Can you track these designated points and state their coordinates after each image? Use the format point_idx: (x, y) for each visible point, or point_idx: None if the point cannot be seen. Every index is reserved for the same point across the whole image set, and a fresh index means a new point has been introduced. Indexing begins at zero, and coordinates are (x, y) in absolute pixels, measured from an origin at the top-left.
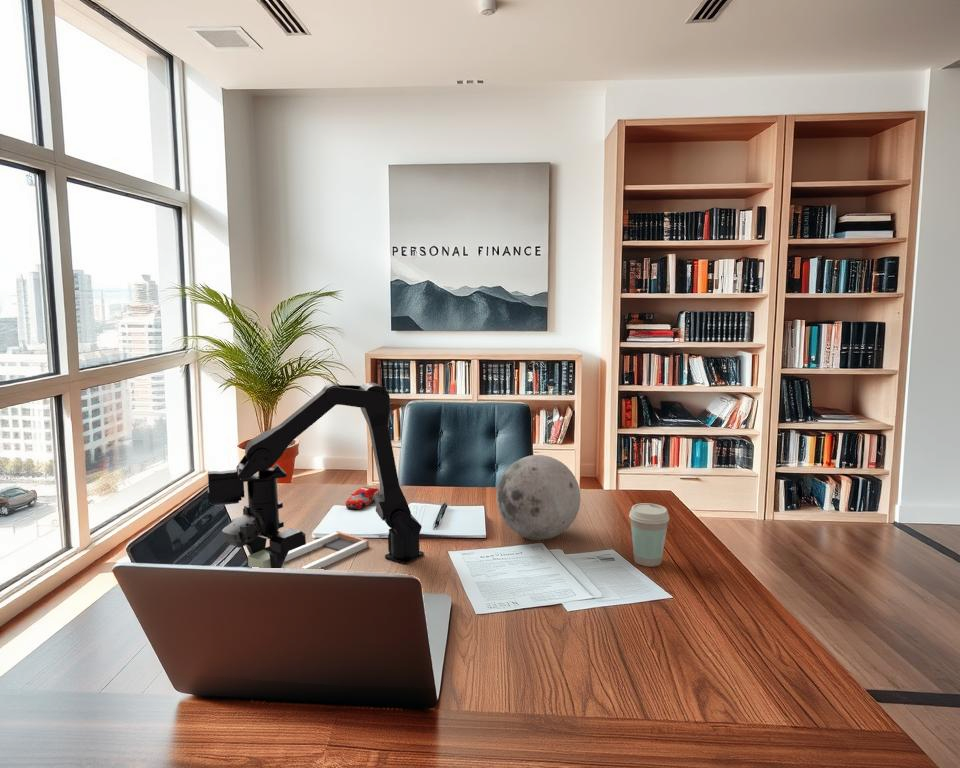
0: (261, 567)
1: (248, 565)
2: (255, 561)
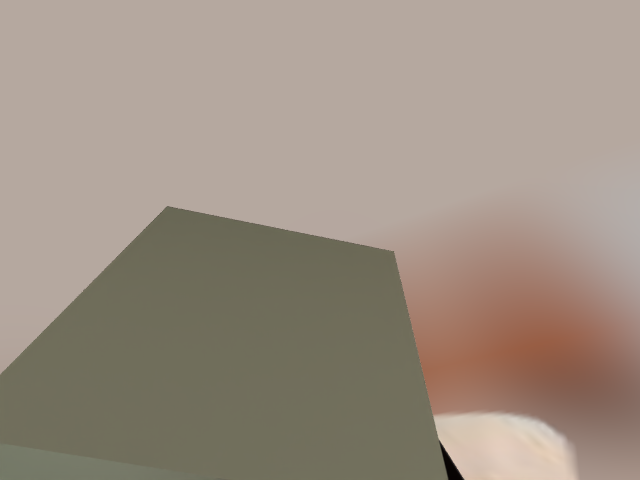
0: (95, 333)
1: (415, 354)
2: (227, 418)
